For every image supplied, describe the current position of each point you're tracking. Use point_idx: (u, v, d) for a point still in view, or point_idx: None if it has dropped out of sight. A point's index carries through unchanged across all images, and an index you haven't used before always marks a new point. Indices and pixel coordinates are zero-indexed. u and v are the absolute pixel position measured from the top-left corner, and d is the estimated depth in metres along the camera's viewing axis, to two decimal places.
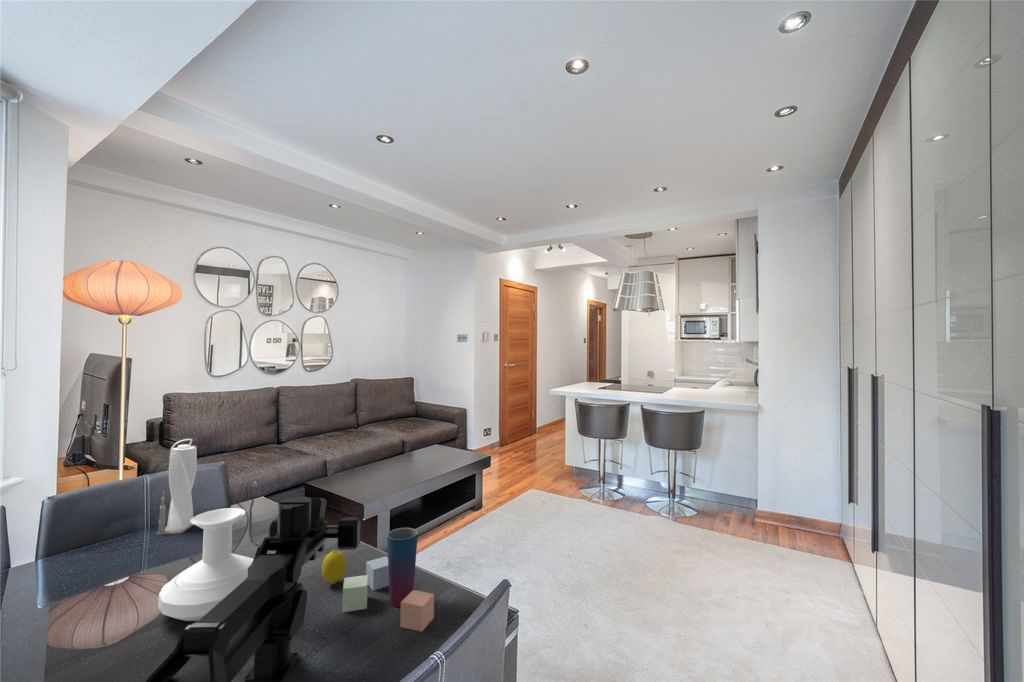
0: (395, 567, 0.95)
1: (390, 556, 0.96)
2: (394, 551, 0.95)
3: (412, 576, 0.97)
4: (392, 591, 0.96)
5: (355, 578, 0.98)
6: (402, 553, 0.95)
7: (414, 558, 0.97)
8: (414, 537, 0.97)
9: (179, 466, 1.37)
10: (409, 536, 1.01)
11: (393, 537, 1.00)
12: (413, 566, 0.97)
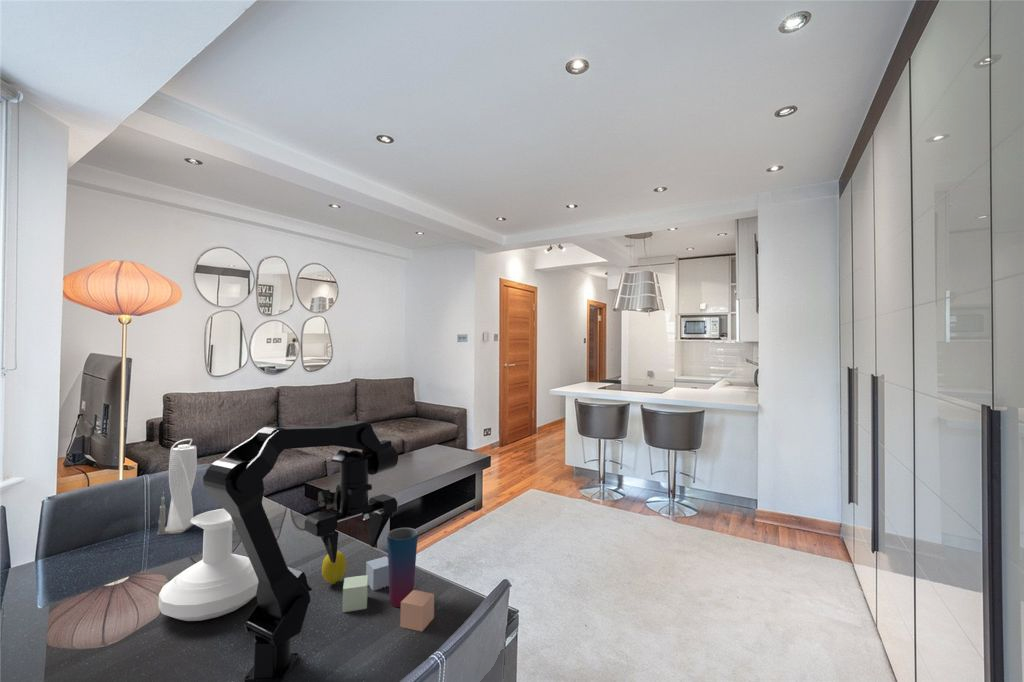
0: (395, 567, 0.95)
1: (390, 556, 0.96)
2: (394, 551, 0.95)
3: (412, 576, 0.97)
4: (392, 591, 0.96)
5: (355, 578, 0.98)
6: (402, 553, 0.95)
7: (414, 558, 0.97)
8: (414, 537, 0.97)
9: (179, 466, 1.37)
10: (409, 536, 1.01)
11: (393, 537, 1.00)
12: (413, 566, 0.97)
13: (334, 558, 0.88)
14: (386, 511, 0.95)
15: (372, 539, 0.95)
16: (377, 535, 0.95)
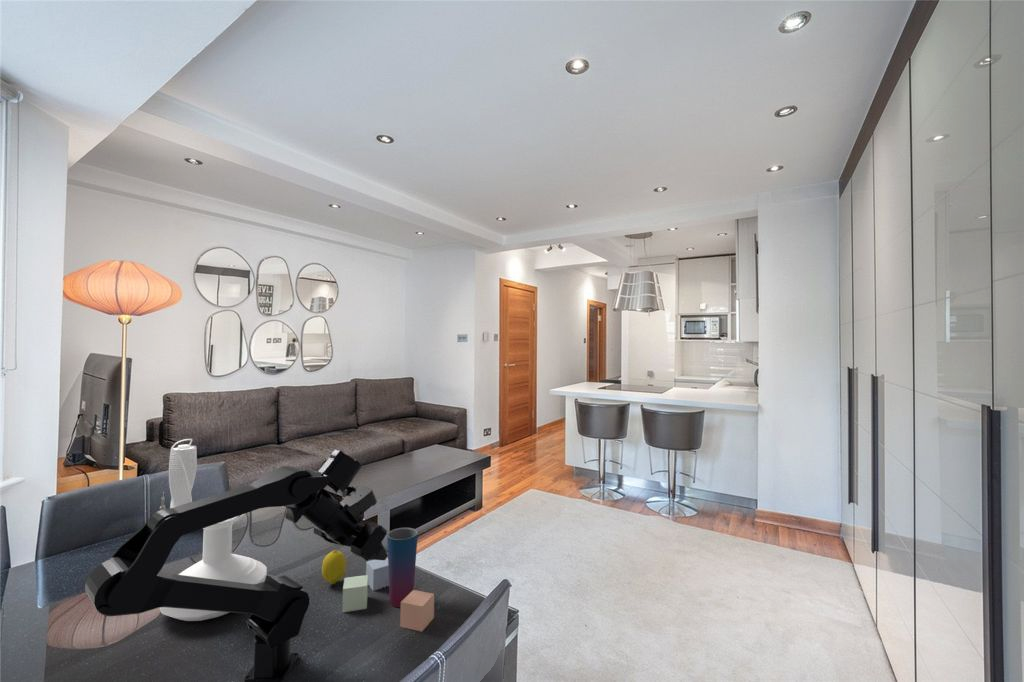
0: (395, 567, 0.95)
1: (390, 556, 0.96)
2: (394, 551, 0.95)
3: (412, 576, 0.97)
4: (392, 591, 0.96)
5: (355, 578, 0.98)
6: (402, 553, 0.95)
7: (414, 558, 0.97)
8: (414, 537, 0.97)
9: (179, 466, 1.37)
10: (409, 536, 1.01)
11: (393, 537, 1.00)
12: (413, 566, 0.97)
13: None
14: (356, 555, 0.83)
15: None
16: None
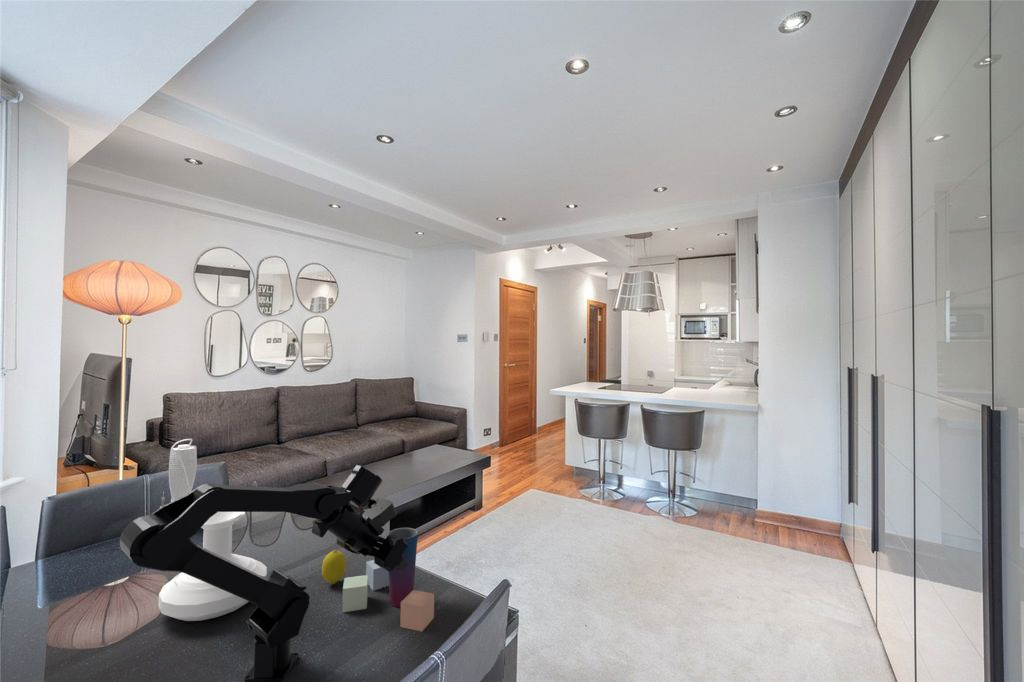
0: None
1: None
2: None
3: (412, 576, 0.97)
4: (392, 591, 0.96)
5: (355, 578, 0.98)
6: None
7: (414, 558, 0.97)
8: (414, 537, 0.97)
9: (179, 466, 1.37)
10: (409, 536, 1.01)
11: None
12: (413, 566, 0.97)
13: None
14: (379, 566, 0.87)
15: None
16: None
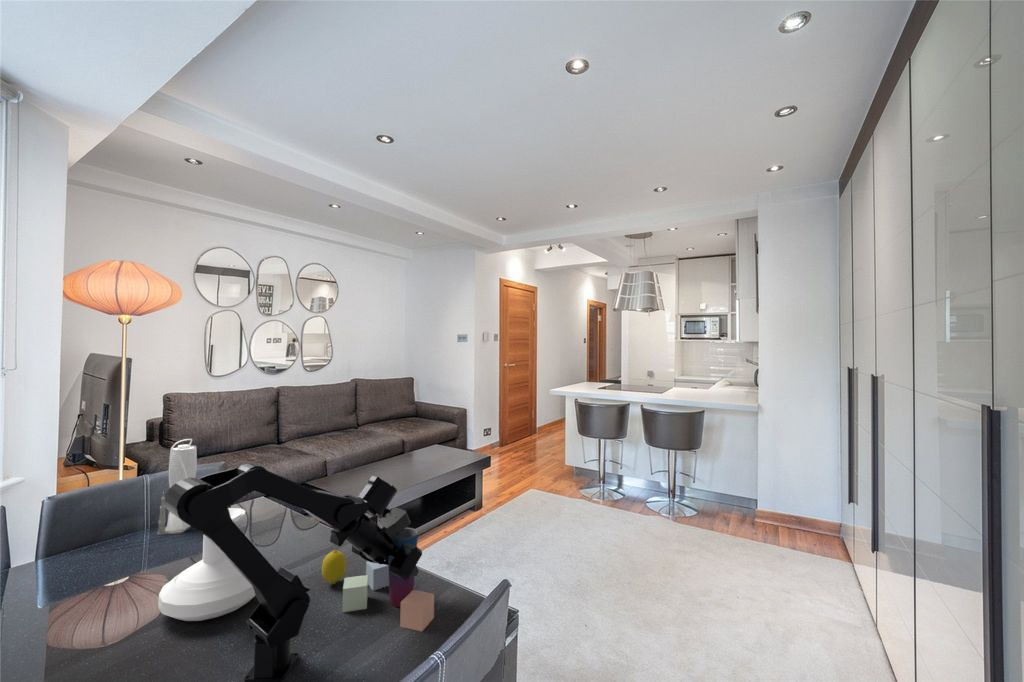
0: None
1: None
2: None
3: (412, 576, 0.97)
4: (392, 591, 0.96)
5: (355, 578, 0.98)
6: None
7: None
8: (414, 537, 0.97)
9: (179, 466, 1.37)
10: (409, 536, 1.01)
11: None
12: None
13: None
14: (394, 574, 0.89)
15: None
16: None
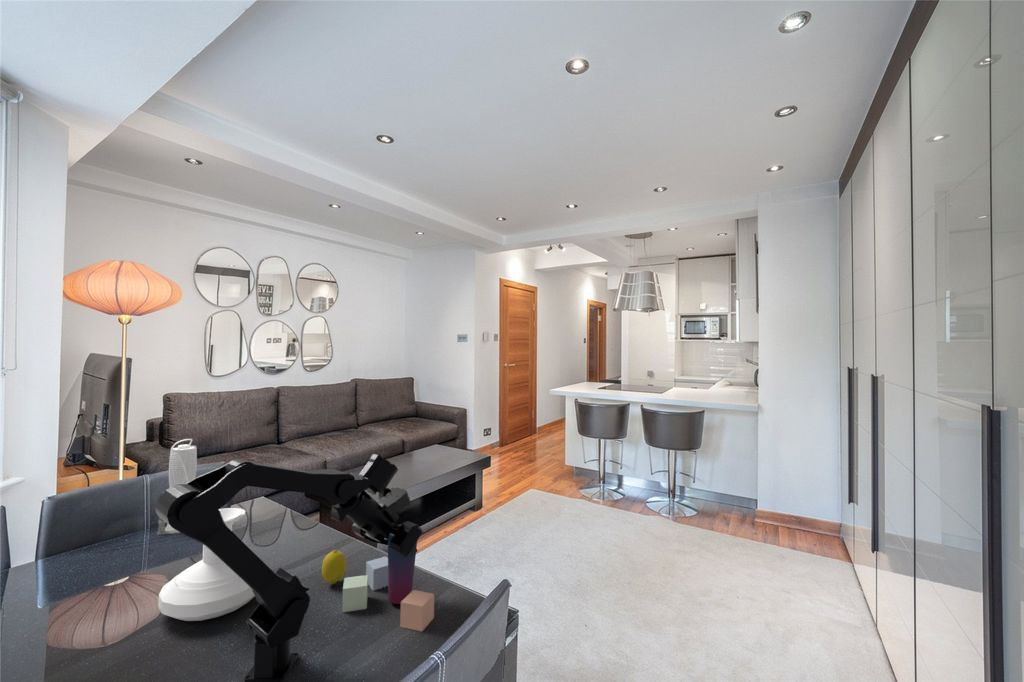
0: (394, 563, 0.95)
1: (390, 551, 0.96)
2: None
3: (411, 573, 0.97)
4: (390, 587, 0.95)
5: (355, 578, 0.98)
6: None
7: (414, 555, 0.97)
8: None
9: (179, 466, 1.37)
10: None
11: None
12: (412, 563, 0.97)
13: None
14: (394, 551, 0.90)
15: None
16: None
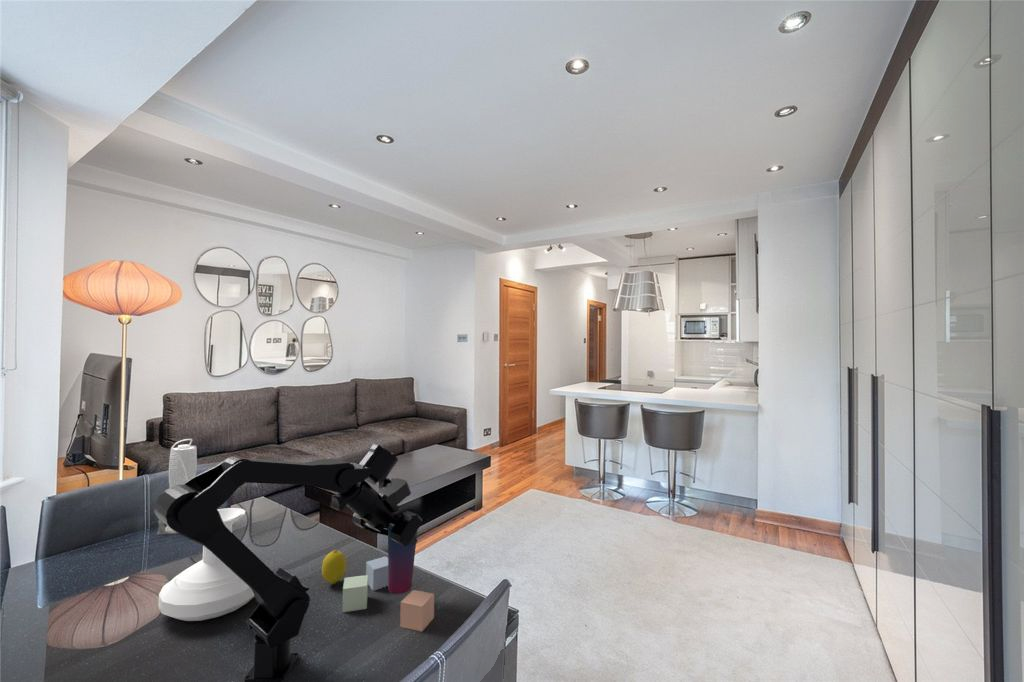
0: (394, 553, 0.95)
1: (390, 542, 0.96)
2: None
3: (411, 563, 0.97)
4: (391, 577, 0.96)
5: (355, 578, 0.98)
6: None
7: (414, 545, 0.97)
8: None
9: (179, 466, 1.37)
10: None
11: None
12: (412, 553, 0.97)
13: None
14: (394, 541, 0.90)
15: None
16: None
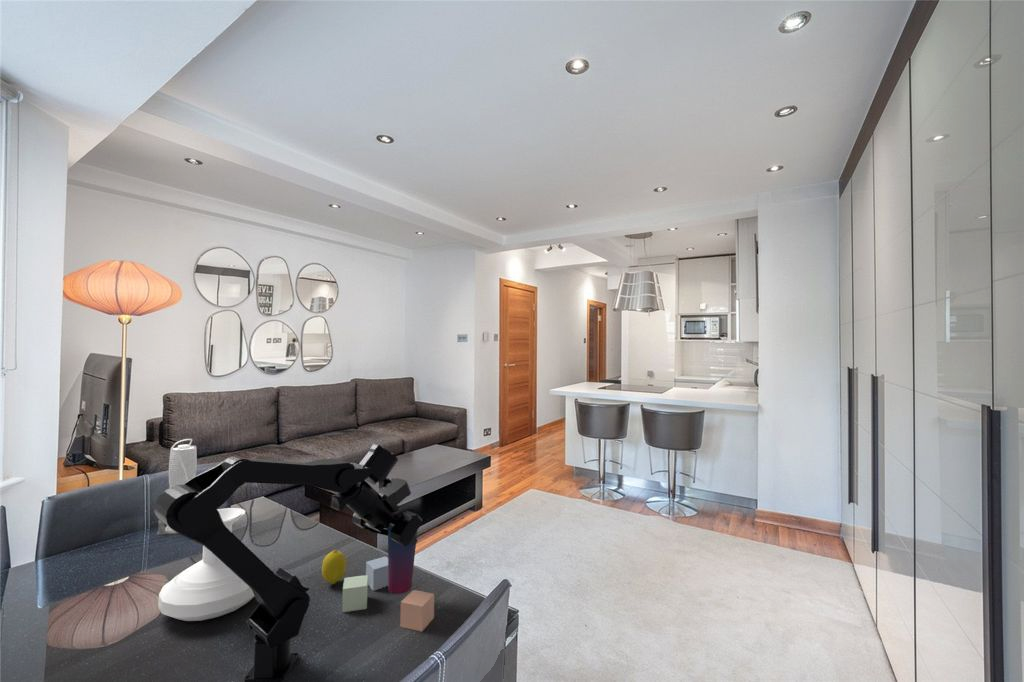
0: (394, 553, 0.95)
1: (390, 542, 0.96)
2: None
3: (411, 563, 0.97)
4: (391, 577, 0.96)
5: (355, 578, 0.98)
6: None
7: (414, 545, 0.97)
8: None
9: (179, 466, 1.37)
10: None
11: None
12: (412, 553, 0.97)
13: None
14: (394, 541, 0.90)
15: None
16: None
